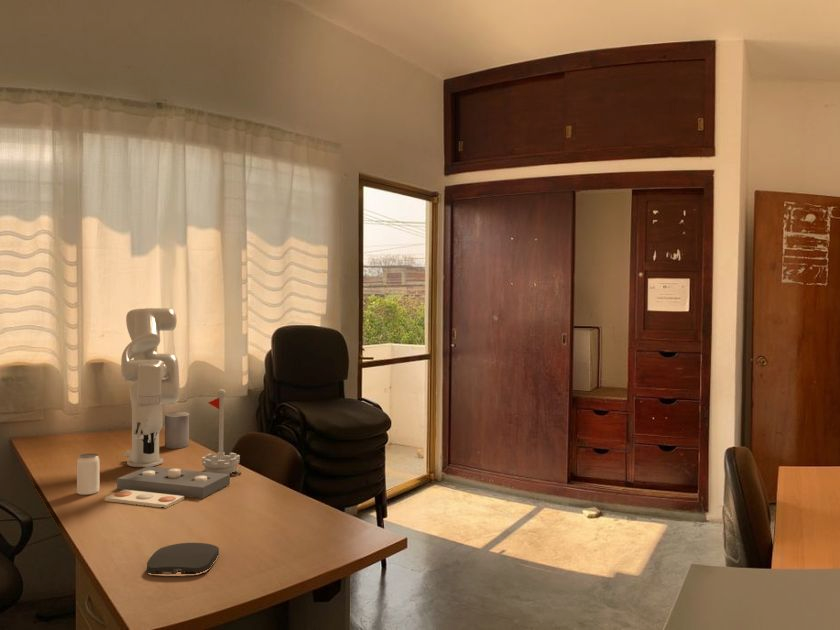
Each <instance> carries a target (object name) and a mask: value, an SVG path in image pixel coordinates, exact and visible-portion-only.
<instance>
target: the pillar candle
mask: <svg viewBox="0 0 840 630" xmlns="http://www.w3.org/2000/svg"><path fill="white" fill-rule="evenodd" d="M189 445H190V413H189V412H188V411H172V412H167V413H165V414H164V448H166V449H182V448H187V447H189Z"/></svg>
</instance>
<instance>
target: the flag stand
mask: <svg viewBox="0 0 840 630" xmlns="http://www.w3.org/2000/svg"><path fill="white" fill-rule="evenodd" d="M226 395H227V392H226V390H225V389H222V388H221V389H219V390H217V396H218V397H217V398H215V399H213V400H210V401H208V402H207V403H208V404H209V405H211V406H213V408H216V409H218V411H219V414H218V415H219V417H218V418H219V419H218V420H219V421H218V423H219V424H218V452H217V455H213V453H208V454H205V456H202V458H201V459H202V460H201V461H202V462H201V464H202V466H203V467H204V469H205V470H204V472H212V473H222V474H228V473H231V474H233V473H232V472H234V473H236V472H237V465H239V464H240V459H241V458H240V456H241V455H240V454H237V453H235V452H229V454H228V455H227V454H226V455H225V451H224V422H225V421H224V413H225V411H224V410H225V409H224V408H225V405H224V404H225V399H224V398H225V397H226ZM235 471H236V472H235Z"/></svg>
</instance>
